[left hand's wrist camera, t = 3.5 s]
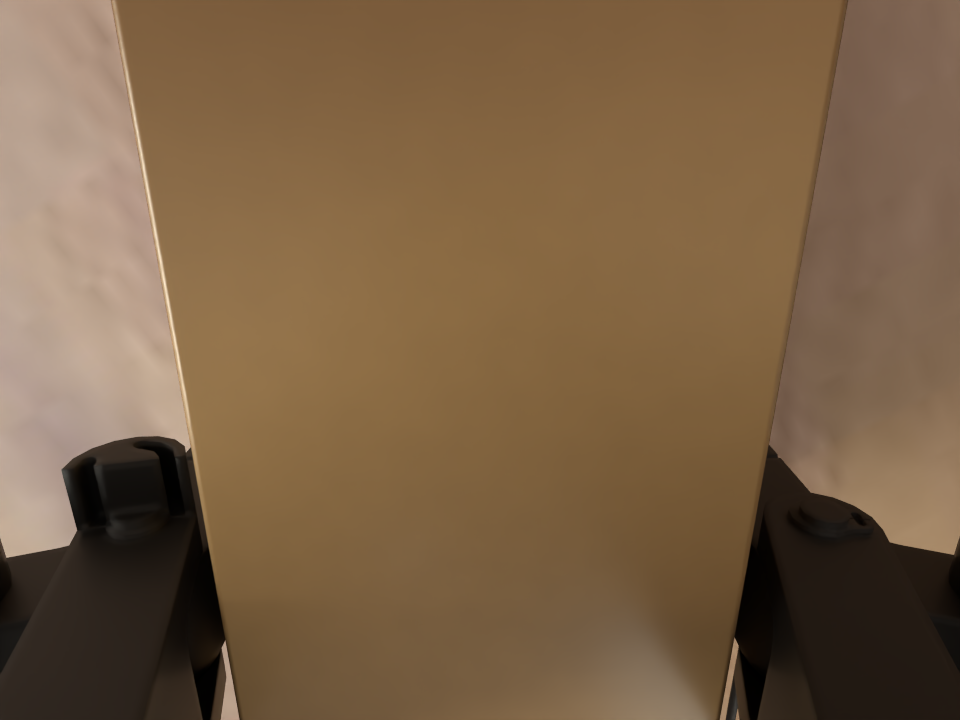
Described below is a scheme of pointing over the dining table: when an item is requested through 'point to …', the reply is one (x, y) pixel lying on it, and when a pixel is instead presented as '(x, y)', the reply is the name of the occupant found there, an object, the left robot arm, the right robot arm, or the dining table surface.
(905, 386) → the dining table surface
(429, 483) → the bar
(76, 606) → the left robot arm
